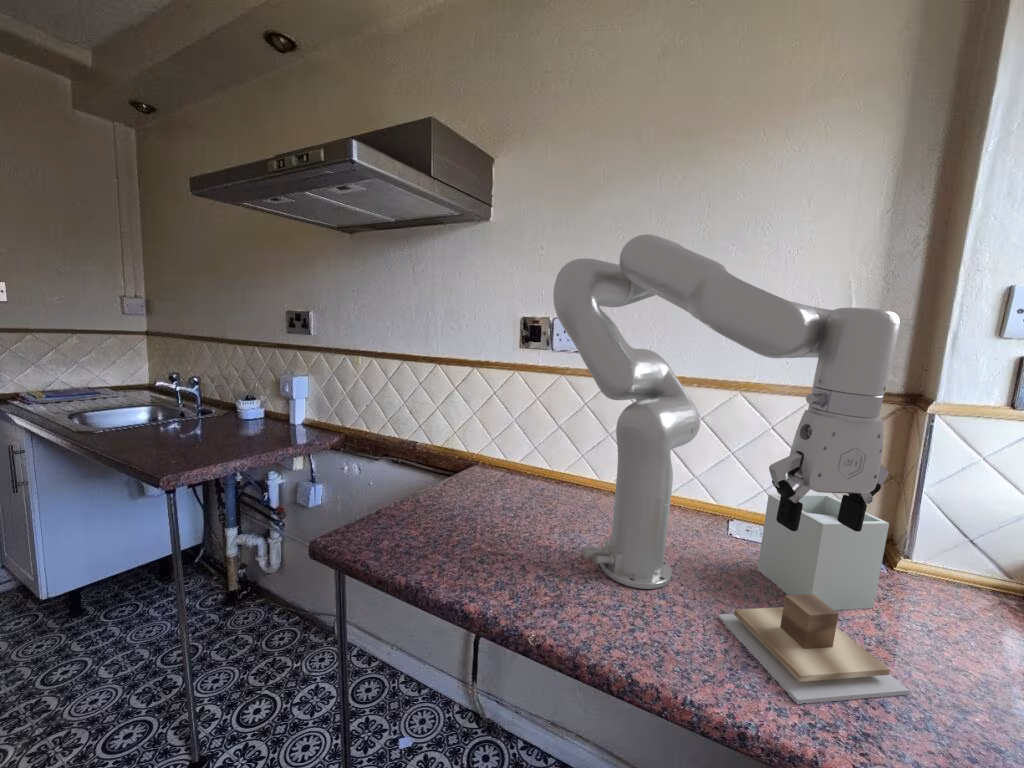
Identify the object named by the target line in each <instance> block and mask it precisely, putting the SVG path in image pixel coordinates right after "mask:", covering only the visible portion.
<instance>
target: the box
mask: <svg viewBox="0 0 1024 768" xmlns="http://www.w3.org/2000/svg"><path fill="white" fill-rule="evenodd" d="M780 498H781V495H780V494H778V493H775V494H772V493H771V494H768V497H767V503H766V511H765V517H764V523H763V531H762V537H761V545H760V551H759V557H758V565H757V572H759V573H760V572H761V573H762V574H761V573H760V574H761V575H762V576H763V577H765V578H766V577H767V578H766V579H768V580H769V579H770V580H771V581H772V582H771V581H770V580H769V581H770V582H771V583H772V584H774V583H775V584H776V585H777V586H776V587H777V588H779V589H780V588H781V589H782V592H784V593H785V594H786V595H802V594H813V595H814V596H816V597H817V598H818V599H820V600H821V601H822V602H824V603H825V604H826V605H828V606H829V607H830V608H832V609H833V610H834V611H845V610H846V611H849V610H864V609H865V610H866V609H867V610H869V609H874V606H875V600H876V596H877V590H878V586H879V579H880V576H881V575H880V574H881V569H882V563H883V560H884V559H883V558H884V553H885V548H886V543H887V538H888V532H889V527H890V523H889V522H887V521H885V520H883V519H881V518H879V517H877V516H875V515H872V514H870V513H868V512H865V516H864V520H863V525H862V529H861V531H854V530H852V529H850V528H848V527H847V526H845V525H843V524H841V523H840V522H823V521H821V520H819V519H817V518H815V517H814V516H812V515H810V514H808V513H813V514H821V515H829V516H835V517H836V518H838V514H839V510H840V505H841V501H842V500H841V499H838V498H837V497H834V496H831V495H829V494H828V493H821V494H820V493H815V494H814V493H806V494H805V495H804V496H803V497H802V498H801V499H800V500H799V502H800V503H802V504H803V507H802V512H801V517H800V522H799V527H798V530H797V531H791V530H789V529H788V528H786V527H785V526H783V525H782V524H780V523H779V522H777V520H776V518H777V513H778V508H779V503H780ZM775 584H774V585H775ZM781 589H780V590H781Z"/></svg>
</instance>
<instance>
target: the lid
mask: <svg viewBox="0 0 1024 768" xmlns="http://www.w3.org/2000/svg"><path fill="white" fill-rule="evenodd" d="M733 614H734V615H735V616H736V617H737V618H738V619H739V620H740V621H741V622H742V623H743V624H744V625H745V626H746V627H747V628H748V629H749V630H750V631H751V632H752V634H753V635H754V636H755V637H756V638H757V639H758V640H759V641H760V642H761V643H762V644H763V645H764V646H765V647H766V648H767V649H768V650H769V651H770V652H771V653H772V654H773V655H774V656H775V657H776V658H777V659H778V660H779V661H780V662H781V663H782V664H783V665H784V666H785V667H786V668H787V669H788V670H789V671H790V672H791V673H792V674H793V676H794V677H795V678H796V679H797V680H798V681H799V682H803V681H816V680H829V679H842V678H855V677H868V676H881V675H889V674H890V670H891V669H890V668H889V667H888V666H887V665H885V664H884V663H883V662H881V661H880V660H879V659H877V658H876V656H873V654H871V653H870V652H869V651H867V650H866V649H865V648H864V647H862V646H861V645H860V644H859V643H858V642H856V641H855V640H853V639H852V638H851V637H849V636H848V635H847V634H846V633H844V632H843V631H842V630H841V629H840V628H838V627H837V624H838V618H839V613H838V612H837V610H833V609H832V608H830V607H829V606H828V605H826V604H825V603H824V602H822V601H821V600H820V599H818V598H817V597H816V596H814V595H813V594H802V595H788V594H786V595H784V601H783V606H782V607H781V606H778V607H762V608H761V607H759V608H758V607H757V608H738V609H737V608H736V609H734V610H733Z"/></svg>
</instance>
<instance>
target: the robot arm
mask: <svg viewBox="0 0 1024 768" xmlns="http://www.w3.org/2000/svg"><path fill="white" fill-rule="evenodd" d="M552 296H553V305H554V311H555V313H556V317H557V318H558V321H559V323H560V324H561V326H562V327H563V329H564V330H565V333H566V334H567V335H568V337H569V338H570V340H571V341H572V343H573V344H574V346H575V348H576V349H577V351H578V353H579V355H580V357H581V359H582V361H583V362H584V364H585V367H586V368H587V369H588V372H589V373H590V374H591V377H592V378H593V380H594V382H595V384H596V385H597V387H598V389H599V390H600V392H601V393H602V395H604V396H605V397H606V398H608V399H609V400H613V401H628V400H636V401H635V402H632V403H630V404H629V405H627V406H626V407H625V408H624V409H623V410H622V411H621V413H620V415H619V416H618V420H617V421H616V427H615V432H616V434H615V435H616V446H617V447H616V448H617V469H616V471H617V472H616V482H615V493H614V503H613V515H612V524H611V525H612V526H611V533H610V539H605V541H604V542H605V543H604V544H601V545H599V546H598V547H596V546H585V547H584V549H583V554H584V558H585V559H594V561H595V564H596V565H599V566H600V568H601V570H602V571H603V572H604V574H605V575H606V576H608V577H609V578H610V579H612V580H613V581H615V582H618V583H619V584H621V585H624V586H627V587H631V588H634V589H644V590H655V589H658V588H659V589H660V588H662V587H665V586H666V585H668V584H669V583H670V582H671V579H672V572H673V571H672V567H671V566H670V565H669V563H668V562H666V560H665V554H666V552H665V551H666V545H667V536H668V526H669V518H670V510H671V500H672V490H673V481H674V480H673V479H674V476H673V473H674V472H673V471H674V470H673V464H672V458H671V457H672V456H671V453H672V452H671V451H672V450H673V449H675V448H678V447H682V446H684V445H686V444H688V443H690V442H692V440H694V439H695V438H696V436H697V434H698V433H699V430H700V426H701V422H700V421H701V420H700V414H699V412H698V409H697V406H696V405H695V403H694V402H693V400H692V399H691V397H690V396H689V393H688V392H687V390H686V389H685V388H684V385H682V383H681V381H680V379H679V378H678V377H677V375H676V374H675V372H674V371H673V369H672V367H670V364H669V363H668V361H666V360H665V359H664V358H663V357H662V356H661V355H660V354H658V352H655V351H653V350H650V349H646V348H634V347H633V346H632V347H631V345H630V344H629V343H628V341H627V340H626V339H625V338H624V335H623V334H621V332H620V329H619V327H618V326H617V324H615V322H614V320H612V318H611V317H610V316H608V315H607V314H606V312H604V311H603V310H602V308H601V307H604V308H621V307H625V306H628V305H631V304H634V303H637V302H640V301H643V300H646V299H648V298H651V297H654V296H657V297H659V298H661V299H663V300H665V301H667V302H669V303H671V304H672V305H675V306H676V307H677V308H680V309H682V310H684V311H685V312H686V313H688V314H690V315H691V316H692V317H693V318H695V319H696V320H698V321H700V322H701V323H702V324H703V325H705V326H706V327H708V328H709V329H710V330H713V331H714V332H716V333H718V334H720V335H721V336H723V337H725V338H726V339H728V340H731V341H732V342H735V343H736V344H738V345H740V346H741V347H743V348H745V349H747V350H749V351H751V352H753V353H755V354H757V355H759V356H763V357H766V358H770V359H795V358H797V359H798V358H799V359H801V358H802V359H804V358H806V359H807V358H811V359H812V358H816V359H817V362H816V363H817V364H816V368H815V373H814V378H813V384H812V388H811V393H808V394H807V395H806V396H805V401H806V403H808V408H807V409H805V410H804V412H803V414H802V416H801V419H800V420H799V423H798V426H797V429H796V431H795V433H794V434H795V435H794V437H793V440H792V444H791V447H790V452H789V455H787V456H786V457H784V458H781V459H780V460H778V461H775V462H773V463H771V464H770V465H769V467H768V471H769V473H770V474H769V475H770V477H771V479H772V480H771V483H772V485H773V486H774V488H775V489H776V492H777V493H776V494H780V495H781V498H780V503H779V508H778V513H777V518H776V520H777V522H779V523H780V524H782V525H783V526H785V527H786V528H788V529H789V530H791V531H797V530H798V527H799V522H800V517H801V512H802V507H803V504H802V503H800V502H799V500H800V499H801V498H802V497H803V496H804V495H805V494H808V492H810V491H811V490H812V491H813V492H815V493H821V494H843V495H842V498H841V500H840V501H841V505H840V510H839V514H838V519H837V520H838V522H840V523H841V524H843V525H845V526H847V527H848V528H850V529H852V530H854V531H861V529H862V525H863V520H864V516H865V512H866V511H867V507H868V505H869V504H871V503H873V500H874V498H873V497H874V496H875V495H876V494H877V493H879V492H880V490H881V488H882V485H883V484H884V482H885V481H886V480H887V478H888V476H889V474H890V471H889V470H887V469H886V468H884V467H883V466H882V465H881V463H882V459H883V458H882V456H883V450H884V449H883V448H884V423H883V419H881V418H879V417H880V414H881V411H882V410H881V409H882V405H883V400H884V396H885V392H886V388H887V383H888V378H889V374H890V370H891V365H892V362H893V358H894V354H895V353H894V352H895V348H896V343H897V339H898V336H899V331H900V325H901V321H900V320H901V319H900V317H899V315H898V314H897V313H895V312H894V311H891V310H886V309H879V308H868V307H867V308H865V307H838V308H835V309H828V308H827V309H826V308H821V307H816V306H811V305H807V304H802V303H800V302H795V301H790V300H788V299H785V298H783V297H780V296H777V294H773V293H771V292H769V291H766V290H764V289H762V288H760V287H757V286H755V285H753V284H751V283H749V282H747V281H744V280H742V279H740V278H739V277H737V276H735V275H733V274H731V273H730V272H729V271H727V269H726V267H725V266H724V265H723V264H722V263H719V262H718V261H716V260H714V259H711V258H708V257H706V256H704V255H703V254H702V255H701V254H699V253H697V252H695V251H692V250H691V249H688V248H685V247H684V246H683V245H681V244H680V243H678V242H675V241H673V240H670V239H668V238H664V237H662V236H658V235H654V234H640V235H637V236H634V237H632V238H631V239H629V240H628V241H627V242H626V243H625V244H624V246H623V247H622V249H621V251H620V255H619V263H618V264H616V263H614V262H613V263H612V262H607V261H604V260H600V259H594V258H587V257H586V258H585V257H584V258H577V259H572V260H571V261H569V262H566V264H564V265H563V266H562V267H561V269H560V270H559V271H558V273H557V275H556V278H555V281H554V286H553V295H552ZM796 485H798V486H797V487H796V488H795V489H793V488H794V487H795V486H796ZM866 513H867V512H866Z"/></svg>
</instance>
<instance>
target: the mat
mask: <svg viewBox="0 0 1024 768" xmlns="http://www.w3.org/2000/svg"><path fill="white" fill-rule="evenodd" d="M717 618H719V619H720V620H721V621H722V622H723V623H722V622H721V621H720V620H719V621H720V622H721V623H722V624H723V625H724V624H725V625H724V626H725V627H726V629H727V630H728V631H729V630H730V631H731V632H730V631H729V632H730V633H731V634H732V633H733V634H732V635H733V636H734V635H735V636H734V637H735V638H736V639H737V641H739V643H740V642H741V643H742V644H743V645H744V646H745V647H746V648H745V647H744V646H743V645H742V644H741V643H740V644H741V645H742V646H743V647H744V648H745V649H746V650H747V649H748V650H747V652H749V654H750V655H751V654H752V655H753V656H754V657H755V658H756V659H757V660H758V661H759V662H760V663H759V662H758V661H757V660H756V659H755V658H754V657H753V656H752V655H751V656H752V657H753V658H754V659H755V660H756V661H757V662H758V663H759V664H760V665H761V664H762V665H761V667H762V666H763V667H764V668H765V669H766V670H767V671H768V672H767V671H766V670H765V669H764V668H763V667H762V668H763V669H764V670H765V671H766V672H767V673H768V674H769V673H770V674H769V675H770V676H771V675H772V676H771V678H772V679H773V678H774V679H775V680H776V681H777V682H778V683H779V684H778V683H777V682H776V681H775V680H774V679H773V680H774V681H775V682H776V683H777V684H778V685H779V686H780V688H781V689H782V690H783V691H784V690H785V691H786V692H787V693H788V694H789V695H788V694H787V693H786V692H785V691H784V692H785V693H786V694H787V695H788V696H789V697H790V698H791V699H792V700H793V702H794V703H795V702H796V703H797V704H796V705H804V704H803V703H806V704H816V703H826V702H839V701H849V700H861V699H872V698H874V699H875V698H882V697H883V698H885V697H893V696H894V697H897V696H908V695H909V694H910V689H909V688H907V687H906V686H905V685H904V684H902V683H901V682H900V681H899V680H898V679H896V678H895V677H894V676H893V675H891V674H890V673H889V675H881V676H868V677H855V678H842V679H829V680H816V681H803V682H799V681H798V680H797V679H796V678H795V677H794V676H793V674H792V673H791V672H790V671H789V670H788V669H787V668H786V667H785V666H784V665H783V664H782V663H781V662H780V661H779V660H778V659H777V658H776V657H775V656H774V655H773V654H772V653H771V652H770V651H769V650H768V649H767V648H766V647H765V646H764V645H763V644H762V643H761V642H760V641H759V640H758V639H757V638H756V637H755V636H754V635H753V634H752V632H751V631H750V630H749V629H748V628H747V627H746V626H745V625H744V624H743V623H742V622H741V621H740V620H739V619H738V618H737V617H736V616H735V615H734V613H724V614H723V613H722V614H721V613H720V614H718V615H717Z"/></svg>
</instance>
